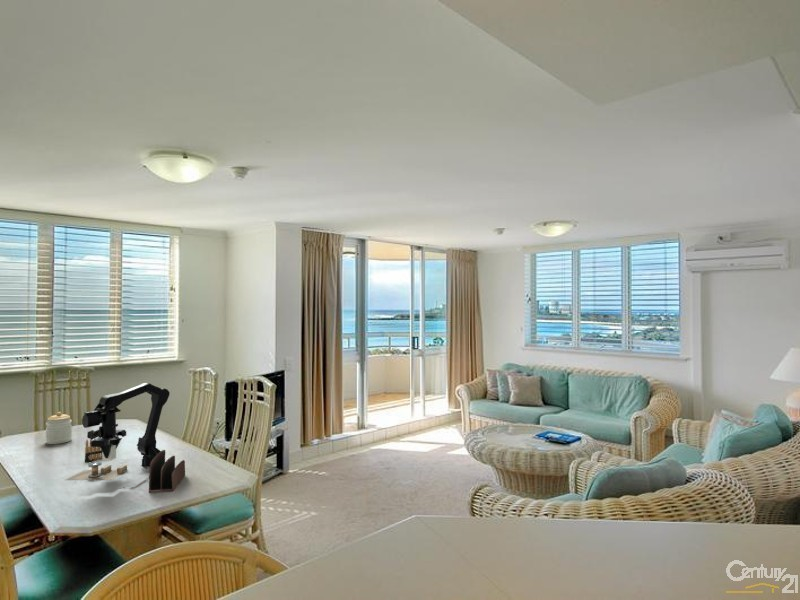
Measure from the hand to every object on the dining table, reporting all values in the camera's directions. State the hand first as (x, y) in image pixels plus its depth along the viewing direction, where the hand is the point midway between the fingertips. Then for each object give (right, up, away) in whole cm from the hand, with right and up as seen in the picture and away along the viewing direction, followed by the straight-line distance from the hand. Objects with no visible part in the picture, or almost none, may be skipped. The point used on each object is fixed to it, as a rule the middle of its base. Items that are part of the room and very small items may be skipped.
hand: (109, 456), depth 228 cm
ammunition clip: (-23, -11, +28) cm, 38 cm away
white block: (0, -1, 0) cm, 1 cm away
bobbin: (-7, -9, +1) cm, 12 cm away
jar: (-69, -12, +66) cm, 96 cm away
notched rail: (-1, -9, +6) cm, 11 cm away
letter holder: (+30, -11, -6) cm, 33 cm away
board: (-7, -11, +2) cm, 13 cm away
